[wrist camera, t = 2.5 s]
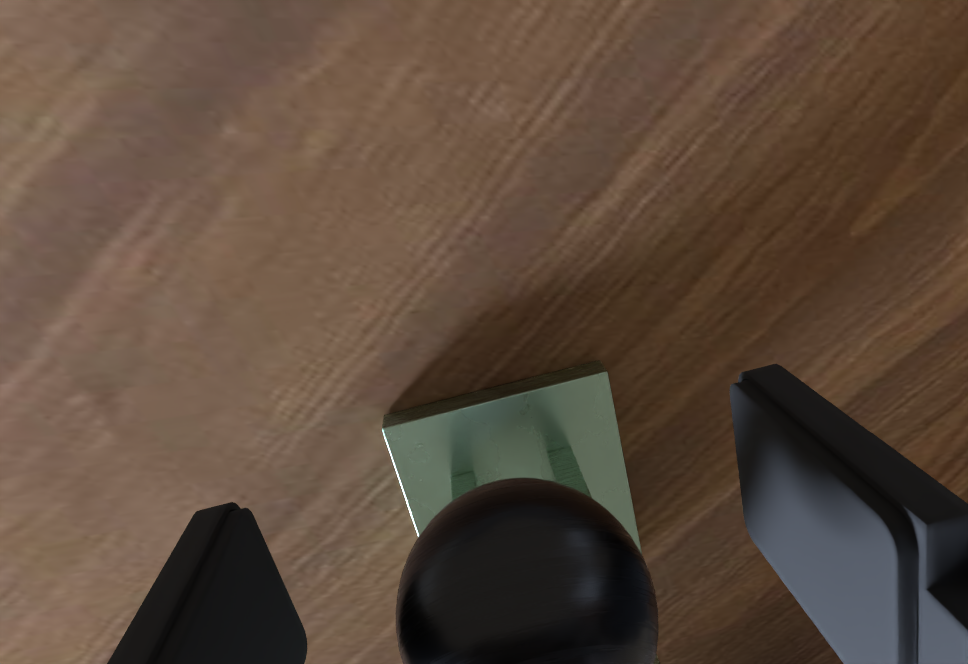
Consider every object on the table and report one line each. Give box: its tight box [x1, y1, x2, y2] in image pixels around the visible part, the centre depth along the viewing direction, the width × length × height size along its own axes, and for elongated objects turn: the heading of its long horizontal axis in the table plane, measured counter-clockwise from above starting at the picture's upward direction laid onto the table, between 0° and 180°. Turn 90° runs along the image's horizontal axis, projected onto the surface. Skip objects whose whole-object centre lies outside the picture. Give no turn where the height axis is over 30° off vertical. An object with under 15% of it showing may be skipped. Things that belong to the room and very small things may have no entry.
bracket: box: [382, 360, 660, 664], centre depth 21 cm, size 10×9×13 cm
